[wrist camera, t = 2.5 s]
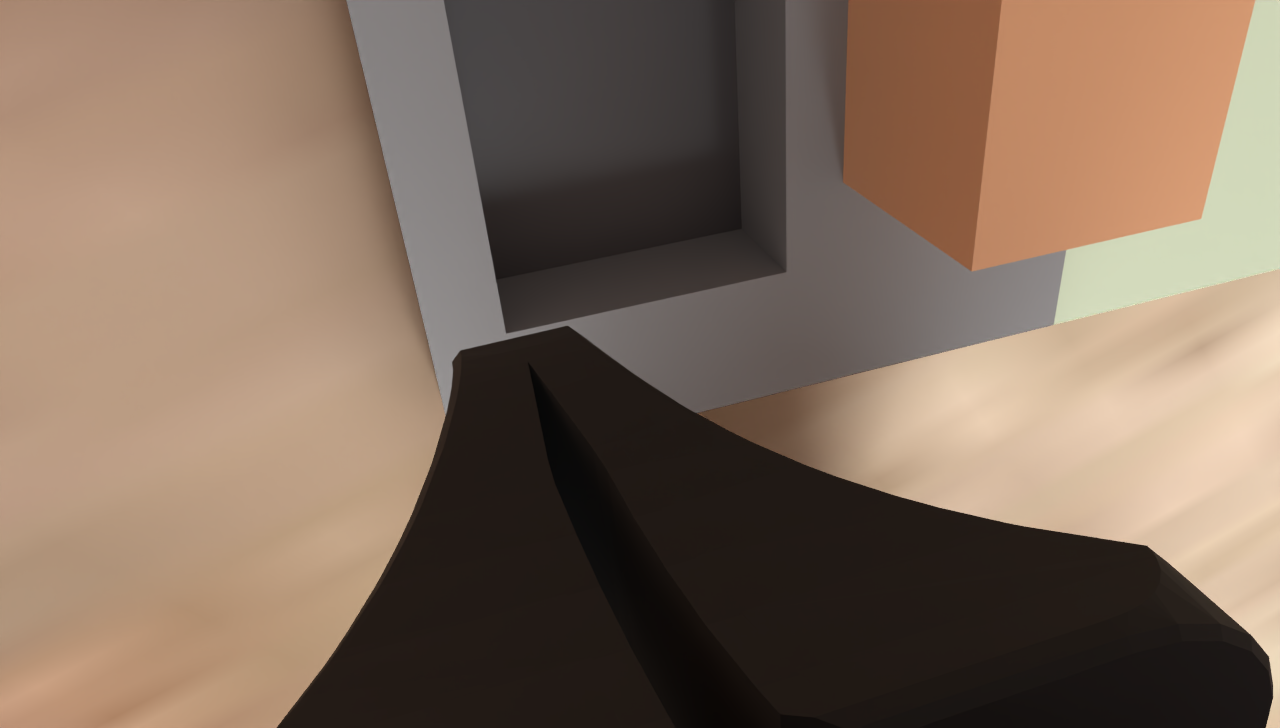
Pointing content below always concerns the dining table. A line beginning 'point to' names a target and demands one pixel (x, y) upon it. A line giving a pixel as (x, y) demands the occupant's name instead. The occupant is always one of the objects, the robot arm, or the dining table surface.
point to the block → (1037, 117)
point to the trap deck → (724, 195)
